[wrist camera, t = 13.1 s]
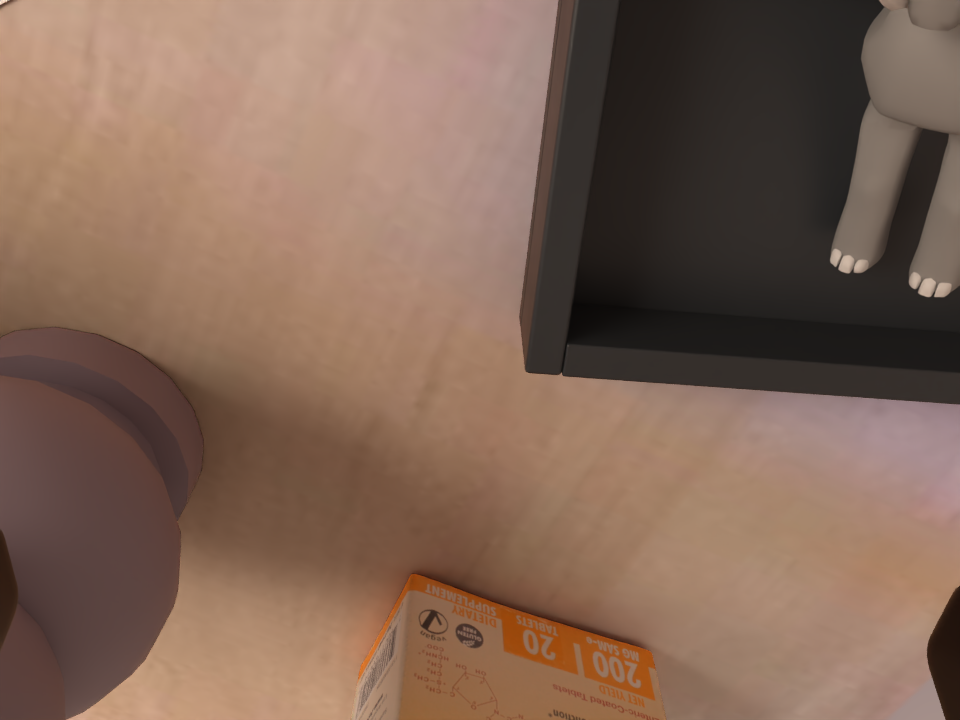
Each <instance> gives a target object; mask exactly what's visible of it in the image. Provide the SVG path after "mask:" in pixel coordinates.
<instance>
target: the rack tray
mask: <svg viewBox="0 0 960 720" xmlns="http://www.w3.org/2000/svg"><path fill="white" fill-rule="evenodd" d="M883 8H884V6H883V5H882V4H881V2H880V1H879V0H559V2H558V10H557V18H556V27H555V35H554V43H553V51H552V59H551V67H550V75H549V83H548V91H547V99H546V107H545V115H544V123H543V131H542V139H541V147H540V155H539V163H538V171H537V179H536V187H535V196H534V204H533V212H532V220H531V228H530V236H529V244H528V252H527V260H526V268H525V276H524V284H523V292H522V300H521V308H520V316H519V317H520V326H521V335H522V345H523V355H524V365H525V370H526V372H528V373H536V374H550V375H560V374H561V372H562V375H563V376H567V377H582V378H596V379H610V380H624V381H638V382H652V383H666V384H680V385H694V386H708V387H722V388H736V389H750V390H764V391H778V392H792V393H806V394H820V395H834V396H848V397H863V398H877V399H891V400H905V401H919V402H933V403H947V404H960V286H958V287H957V288H956V289H955V290H953V291H952V292H950V293H949V294H948V295H947V296H945V297H934V295H935V292H936V291H934V293H933V294H932V296H931V297H926V296H923V295H920V294H919V293H918V291H919V288H920V286H918V288H917V289H914V288H912V287H911V286H910V285H909V270H910V265H911V263H912V260H913V258H914V255H915V253H916V250H917V248H918V245H919V242H920V238H921V235H922V232H923V228H924V224H925V221H926V217H927V214H928V211H929V207H930V204H931V201H932V197H933V194H934V191H935V187H936V184H937V181H938V177H939V173H940V169H941V165H942V161H943V157H944V153H945V150H946V147H947V143H948V138H949V133H943V132H938V131H933V130H928V129H924V128H923V129H922V132H921V135H920V138H919V141H918V143H917V146H916V148H915V151H914V154H913V156H912V159H911V162H910V165H909V168H908V171H907V175H906V178H905V182H904V185H903V188H902V192H901V195H900V198H899V201H898V204H897V207H896V210H895V214H894V217H893V220H892V223H891V227H890V232H889V236H888V241H887V245H886V249H885V252H884V254H883V256H882V257H881V259H880V260H879V261H878V262H877V263H876V264H874V265H873V266H872V267H870V268H869V269H867V270H866V271H864V272H862V273H854V268H853V269H852V271H851V272H850V273H844V272H841V271H840V270H839V265H840V263H839V264H838V265H837V267H835V266H834V265H833V264H831V262H830V258H831V248H832V243H833V240H834V236H835V233H836V230H837V227H838V224H839V221H840V218H841V215H842V212H843V210H844V207H845V204H846V201H847V197H848V193H849V188H850V183H851V178H852V173H853V168H854V164H855V158H856V152H857V146H858V140H859V134H860V127H861V123H862V119H863V116H864V113H865V111H866V108H867V106H868V104H869V102H870V99H871V98H870V95H869V91H868V87H867V83H866V79H865V75H864V70H863V65H862V61H861V55H862V50H863V44H864V39H865V36H866V33H867V31H868V29H869V27H870V25H871V24H872V22H873V20H874V19H875V18H876V17H877V16H878V15H879V13H880V12H881V11H882V9H883Z"/></svg>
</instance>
